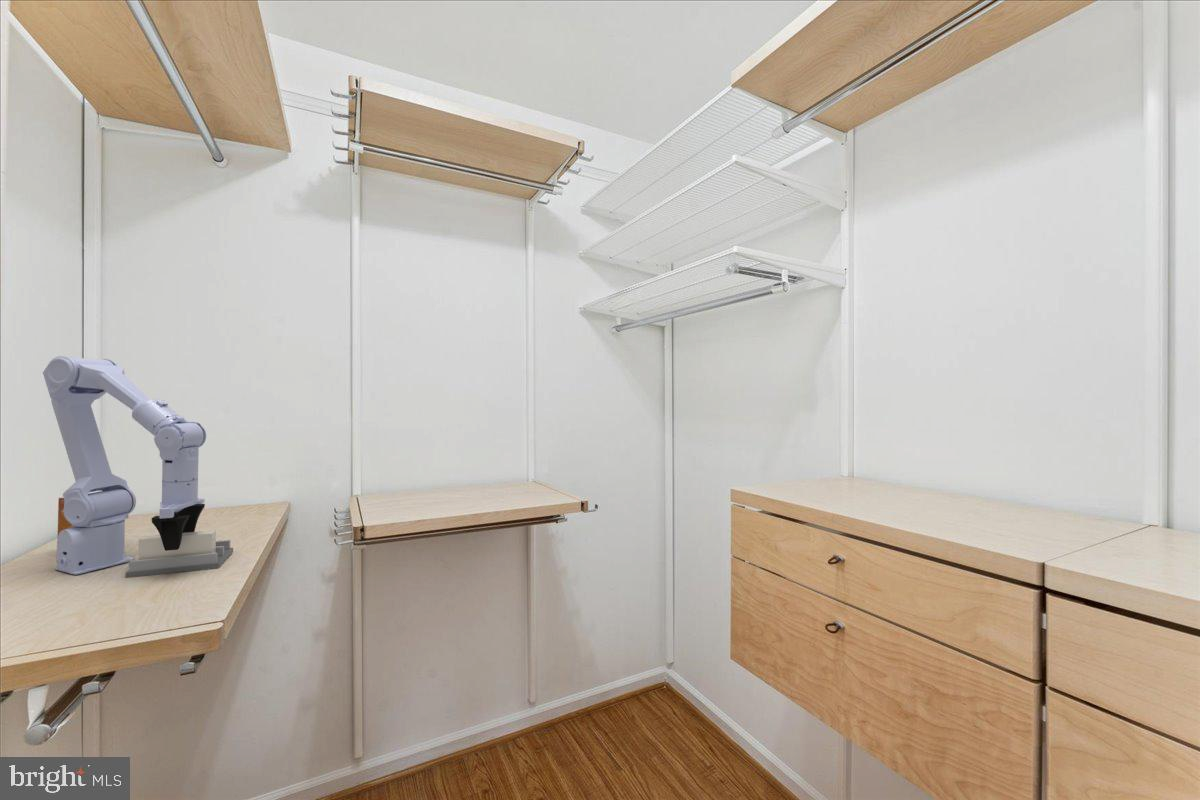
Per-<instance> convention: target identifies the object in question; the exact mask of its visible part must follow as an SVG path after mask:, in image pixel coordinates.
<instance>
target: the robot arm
mask: <svg viewBox="0 0 1200 800" xmlns="http://www.w3.org/2000/svg"><path fill="white" fill-rule="evenodd" d="M42 374H43V378H44V380H45V385H46V387H47V392H48V393H49V394H48V395H49V397H50V400H51V405H52V408H53V409H52V410H53V413H54V415H55V418H56V421H57V425H58V428H59V431H60V435H61V438H62V442H63V444H64V448H65V451H66V455H67V459H68V460H69V464H70V468H71V471H72V474H73V477H74V480H75V482H73V484H72V485H70V486H69V487H68V488H67V489H66V490H65V491H64V492H63V493H62V496H63V497H64V509H63V512H64V516H65V518H66V520H67V521H68V522H69V523H71V524H72V526H73V527H72V528H69V529H65V530H62V531H61V532H60V533H59V535H58V534H57V536H58V539H56V566H55V567H54V569H55V570H57V571H60V572H63V573H66V574H71V575H74V576H75V575H80V574H85V573H89V572H92V571H98V570H101V569H104V568H109V567H113V566H117V565H122V564H125V563H129V562H130V561H133V560H135V557H131V556H127V555H125V545H126V544H125V539H126V537H125V533H126V531H125V530H126V529H125V528H126V520H127V519H129V514H131V513H132V512H133V511H134V510H135V508H136V505H137V497H136V495H135V493H134V492H133V491H132V490H131V489H130V487H129V486H128V482H127V480H126V479H123V478H122V477H120V476H117V475H115V474H113V472H112V470H111V467H110V464H109V461H108V456H107V454H106V451H105V447H104V444H103V440H102V438H101V433H100V431H99V428H98V423H97V421H96V417H95V414H94V412H93V408H92V405H93V403H94V402H95V400H98V399H101V398H102V397H103V396H104V395H105V394H106V393H107V394H109V395H110V396H111V397H113V398H114V399H115V400H118V401H119V402H120V403H121V404H123V405H125V406H126V407H127V408H129V409H131V410H132V411H131V417H132V419H133V420H134V421H135V422H137V423H138V425H140V426H142V428H144V429H145V430H146V431H148V432H149V433H150V434H151V435H152V436H154V437H153V440H154V444H155V446H156V448H157V449H158V451H159V458H160V459H161V460H162V463H161V464H162V466H161V469H162V470H161V473H162V474H161V480H162V481H161V501H160V503H159V504H160V506H159V507H160V508H159V515H154V516H153V517H151V523H152V524H153V526H154V527H155V529H156V530H157V531H158V533H159V534H158V535H160V536H161V539H162V543H163V546H164V549H165V551H168V550H178V549H179V547H180V544H181V540H182V534H183V533H188V532H196V528H197V524H198V520H199V518H200V516H201V514H202V512H203V510H204V509H205V506H206V504H205V502H206V499H205V498H199V497H198V496H199V495H198V494H199V492H198V491H199V448H201V447H202V446H203V445H204V444H205V442H206V440H207V432H206V429H205V428H204V427H203V425H202V424H201V423H200V422H198V421H189V420H188V419H185V417H184V416H183V415H180V414H179V413H177V412H176V411H175V410H173V409H172V408H171V407H169V403H168V402H166V401H165V400H160V399H155V398H152V399H150V398H149V397H148V396H147V395H146V394H145V393H144V392H143V391H141V389H140V388H139V387H138V386H136V384H134V383H133V381H131V380H130V379H129V378H128V377H127V376H126V375H125V368H124V367H122V366H121V365H119V364H118V363H117V362H116V361H115V360H112V359H108V358H103V359H102V358H101V359H100V358H85V357H73V356H72V357H71V356H66V355H60V356H55V357H53V358H52V359H51V360H50V361H49V362H48V363H47V366H46V367H45V368H44V370H43V371H42ZM96 491H100V492H96ZM89 492H95V493H90V494H88V493H89Z"/></svg>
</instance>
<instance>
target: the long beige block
mask: <svg viewBox="0 0 1200 800" xmlns="http://www.w3.org/2000/svg"><path fill="white" fill-rule="evenodd" d="M216 541H217V530H216V529H215V530H204V531H194V532H188V533H183V534H182V540H181V544H180V547H179V549H178V550H168V551H165V549H164V546H163V543H162V539H161V536H160V534H153V535H152V534H151V535H144V536H142V537H140V538H138V545H137V546H138V551H137V553H138V556H137V557H138V559H137V560H144V559H154V558H165V557H176V556H187V555H197V554H208V553H216Z"/></svg>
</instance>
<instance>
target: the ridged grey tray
mask: <svg viewBox="0 0 1200 800" xmlns="http://www.w3.org/2000/svg"><path fill="white" fill-rule="evenodd" d="M232 552H233V553H234V547H231V539H223V540H216V553H208V554H197V555H187V556H176V557H165V558H154V559H144V560H138V559H134V560H133V561H129V562H128V564H129V566H128V570H126V571H125V572H124V578H126V579H127V578H137V577H145V576H155V575H164V574H165V573H166V574H175V573H174V572H176V573H182V572H181V571H186V572H191V571H190V570H195V571H200V570H199V569H205V570H209V569H208V568H215V569H219V568H220V567H222V565H223V564H224V563H225V562H226V561H227V559H229V557H230V556H231V555H232V554H233V553H232ZM231 553H232V554H231ZM225 560H226V561H225ZM224 561H225V562H224ZM223 562H224V563H223ZM221 564H222V565H221Z"/></svg>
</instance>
